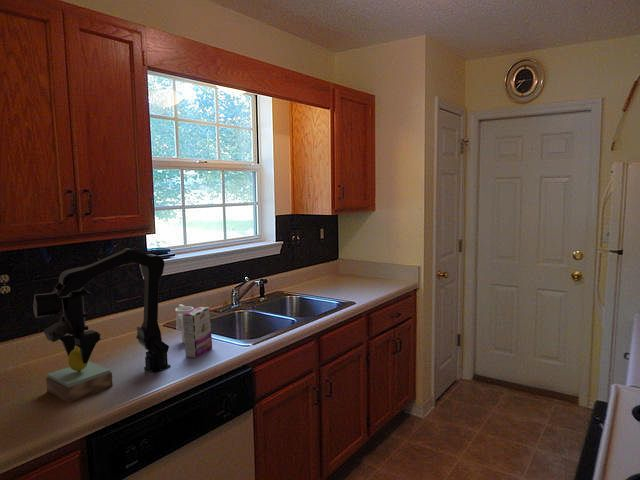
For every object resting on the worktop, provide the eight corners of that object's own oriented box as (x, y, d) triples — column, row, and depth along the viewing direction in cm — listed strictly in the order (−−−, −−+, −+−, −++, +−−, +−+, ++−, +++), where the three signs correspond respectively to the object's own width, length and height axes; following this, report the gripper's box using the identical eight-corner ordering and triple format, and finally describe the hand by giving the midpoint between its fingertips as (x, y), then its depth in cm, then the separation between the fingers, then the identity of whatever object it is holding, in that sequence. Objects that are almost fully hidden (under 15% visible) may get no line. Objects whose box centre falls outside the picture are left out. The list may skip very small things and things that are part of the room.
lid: (89, 363, 156) (88, 360, 156) (110, 372, 148) (110, 369, 148) (47, 377, 145) (47, 374, 145) (68, 387, 138) (67, 384, 138)
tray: (91, 376, 157) (90, 363, 156) (112, 386, 149) (111, 372, 149) (47, 391, 146) (45, 378, 145) (67, 402, 138) (66, 388, 137)
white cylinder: (189, 338, 195) (187, 302, 193) (198, 341, 190) (196, 305, 188) (173, 342, 190) (171, 306, 188) (182, 346, 185) (180, 309, 183)
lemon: (92, 368, 149) (90, 343, 148) (84, 375, 144) (82, 350, 143) (74, 368, 149) (72, 344, 148) (65, 375, 144) (63, 350, 143)
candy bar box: (201, 347, 184) (199, 306, 182) (212, 348, 182) (210, 307, 180) (184, 357, 173) (182, 313, 171) (196, 358, 172) (193, 314, 170)
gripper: (32, 312, 143) (36, 362, 145) (61, 322, 132) (65, 375, 134) (69, 304, 152) (73, 351, 154) (99, 313, 141) (103, 363, 143)
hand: (77, 360), depth 146 cm, fingers open, 9 cm apart
